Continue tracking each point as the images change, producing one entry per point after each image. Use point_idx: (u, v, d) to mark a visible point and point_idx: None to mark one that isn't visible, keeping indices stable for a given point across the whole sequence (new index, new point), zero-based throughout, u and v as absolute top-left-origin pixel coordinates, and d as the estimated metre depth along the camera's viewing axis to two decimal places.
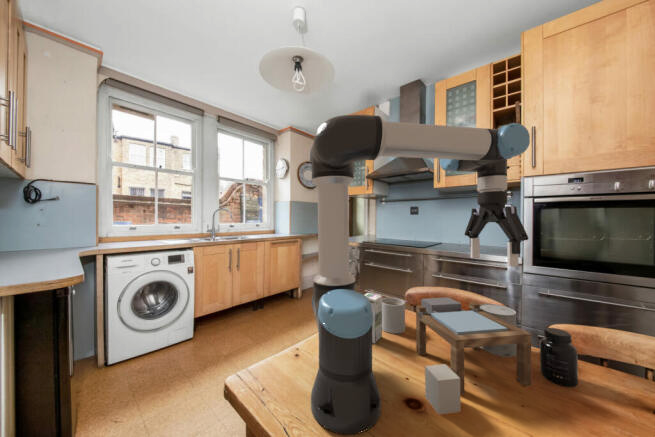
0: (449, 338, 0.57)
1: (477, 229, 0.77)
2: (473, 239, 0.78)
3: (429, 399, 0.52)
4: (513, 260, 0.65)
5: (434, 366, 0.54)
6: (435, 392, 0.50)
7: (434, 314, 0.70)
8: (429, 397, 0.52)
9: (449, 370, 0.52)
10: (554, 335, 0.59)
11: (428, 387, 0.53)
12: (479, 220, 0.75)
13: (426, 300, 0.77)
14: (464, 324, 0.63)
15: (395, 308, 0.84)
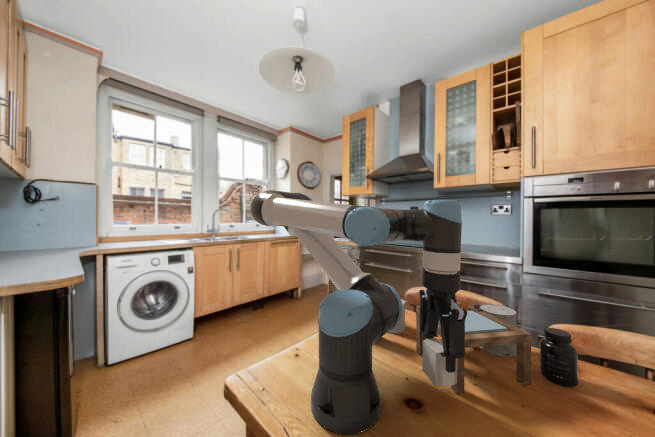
0: None
1: (430, 323, 0.54)
2: None
3: (426, 372, 0.53)
4: (447, 378, 0.49)
5: (431, 341, 0.54)
6: (432, 364, 0.50)
7: None
8: (426, 370, 0.53)
9: None
10: (554, 335, 0.59)
11: (425, 360, 0.53)
12: (428, 309, 0.54)
13: None
14: None
15: None
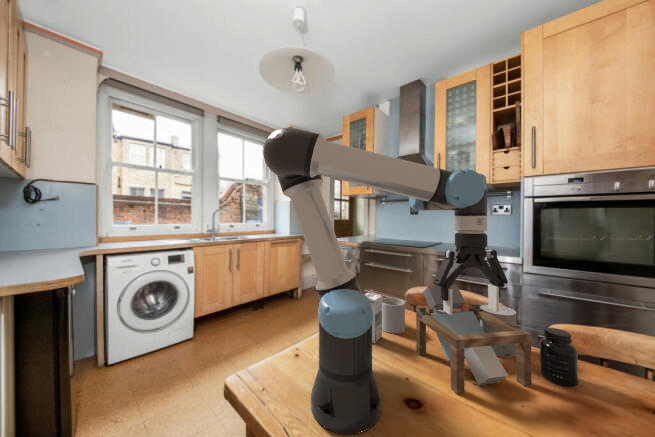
0: (449, 338, 0.57)
1: (485, 274, 0.65)
2: (489, 286, 0.65)
3: (485, 347, 0.60)
4: (445, 306, 0.63)
5: (501, 378, 0.56)
6: (484, 363, 0.57)
7: (434, 317, 0.70)
8: (486, 349, 0.60)
9: (489, 383, 0.58)
10: (554, 335, 0.59)
11: (492, 358, 0.58)
12: None
13: (432, 291, 0.74)
14: None
15: (395, 308, 0.84)
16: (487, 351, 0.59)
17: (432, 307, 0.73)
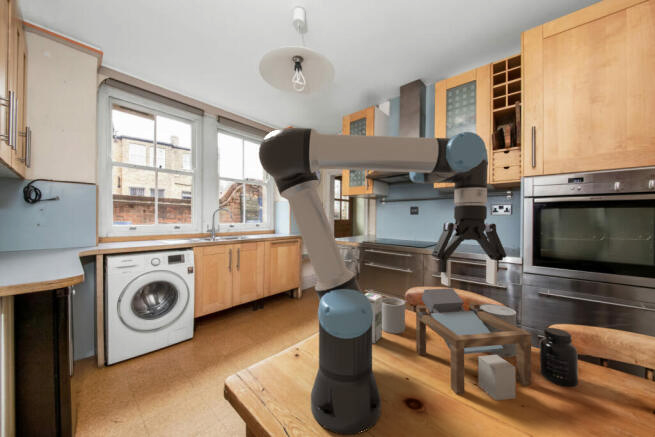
0: (449, 338, 0.57)
1: (483, 248, 0.65)
2: (487, 260, 0.66)
3: (508, 370, 0.53)
4: (443, 278, 0.63)
5: None
6: (499, 386, 0.53)
7: (434, 316, 0.69)
8: (508, 372, 0.53)
9: None
10: (554, 335, 0.59)
11: (510, 381, 0.53)
12: None
13: (429, 293, 0.76)
14: None
15: (395, 308, 0.84)
16: (509, 374, 0.53)
17: (431, 309, 0.73)
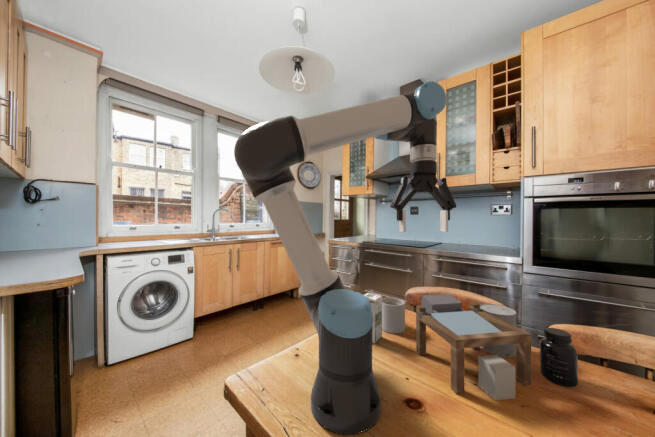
0: (449, 338, 0.57)
1: (437, 200, 0.73)
2: (441, 211, 0.74)
3: (508, 370, 0.53)
4: (400, 226, 0.71)
5: None
6: (499, 386, 0.53)
7: (434, 315, 0.69)
8: (508, 372, 0.53)
9: None
10: (554, 335, 0.59)
11: (510, 381, 0.53)
12: None
13: (427, 297, 0.77)
14: (464, 329, 0.63)
15: (395, 308, 0.84)
16: (508, 374, 0.53)
17: (431, 311, 0.73)
